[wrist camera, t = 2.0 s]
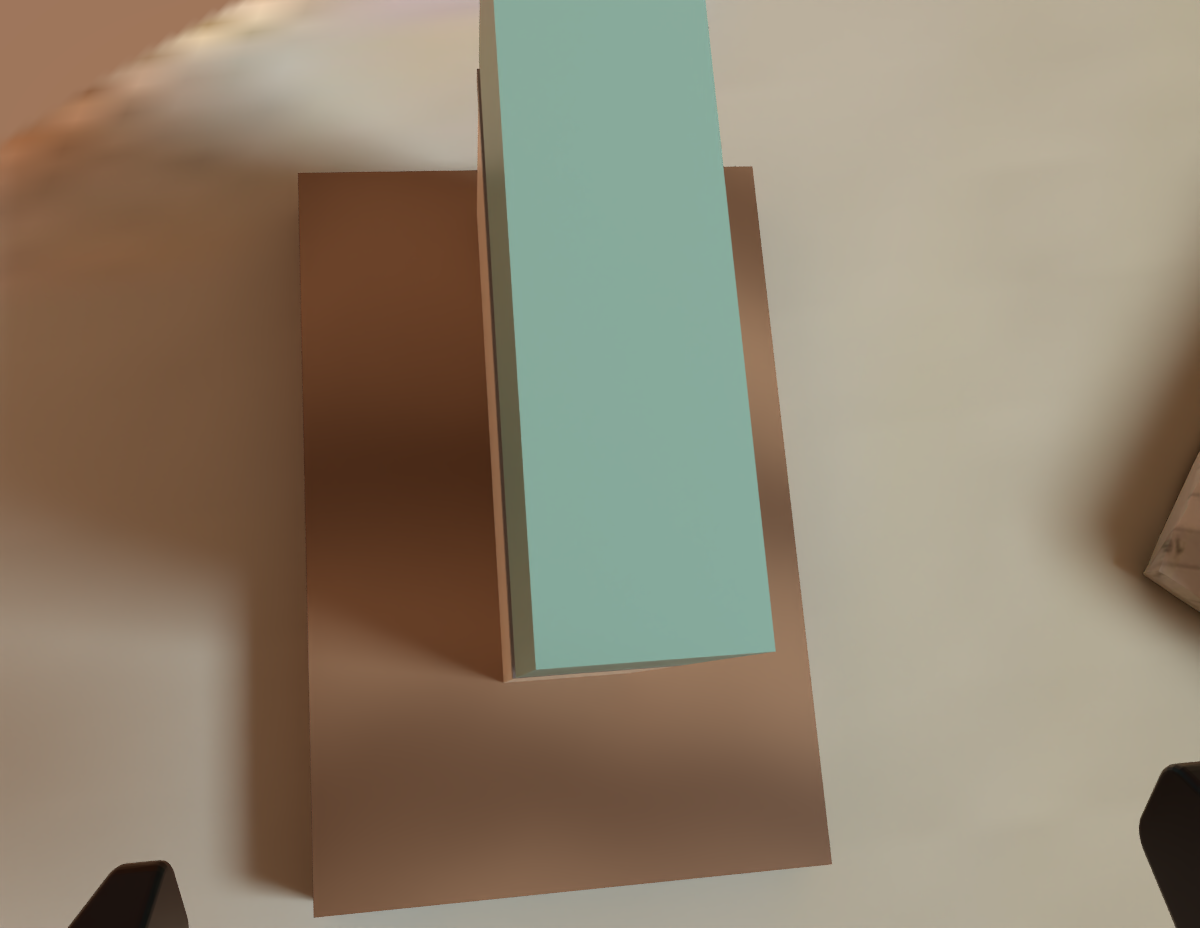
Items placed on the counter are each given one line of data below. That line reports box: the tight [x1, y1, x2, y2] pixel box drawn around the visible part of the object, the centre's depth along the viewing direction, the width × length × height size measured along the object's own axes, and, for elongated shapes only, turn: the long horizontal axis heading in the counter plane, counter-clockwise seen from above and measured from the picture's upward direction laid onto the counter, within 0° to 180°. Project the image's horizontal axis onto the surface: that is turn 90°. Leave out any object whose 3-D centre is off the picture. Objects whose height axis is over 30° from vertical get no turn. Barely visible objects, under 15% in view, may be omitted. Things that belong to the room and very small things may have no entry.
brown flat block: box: [298, 167, 832, 917], centre depth 23 cm, size 15×10×2 cm, turn 4°
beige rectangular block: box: [477, 69, 682, 683], centre depth 20 cm, size 10×3×6 cm, turn 4°
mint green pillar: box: [479, 0, 776, 678], centre depth 14 cm, size 10×2×5 cm, turn 4°
